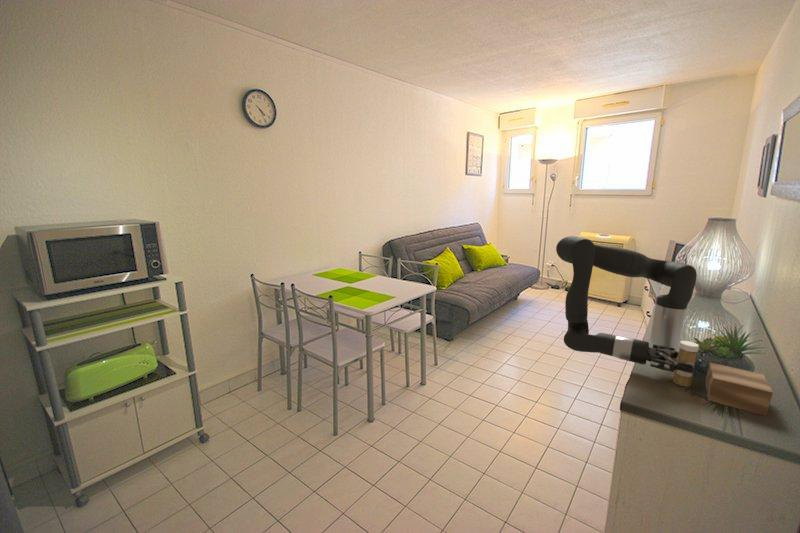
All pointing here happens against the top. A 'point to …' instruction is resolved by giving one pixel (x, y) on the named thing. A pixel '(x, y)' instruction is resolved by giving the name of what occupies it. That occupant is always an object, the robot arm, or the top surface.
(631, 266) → the robot arm
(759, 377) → the block
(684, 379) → the sprinkles bottle
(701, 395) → the top surface
